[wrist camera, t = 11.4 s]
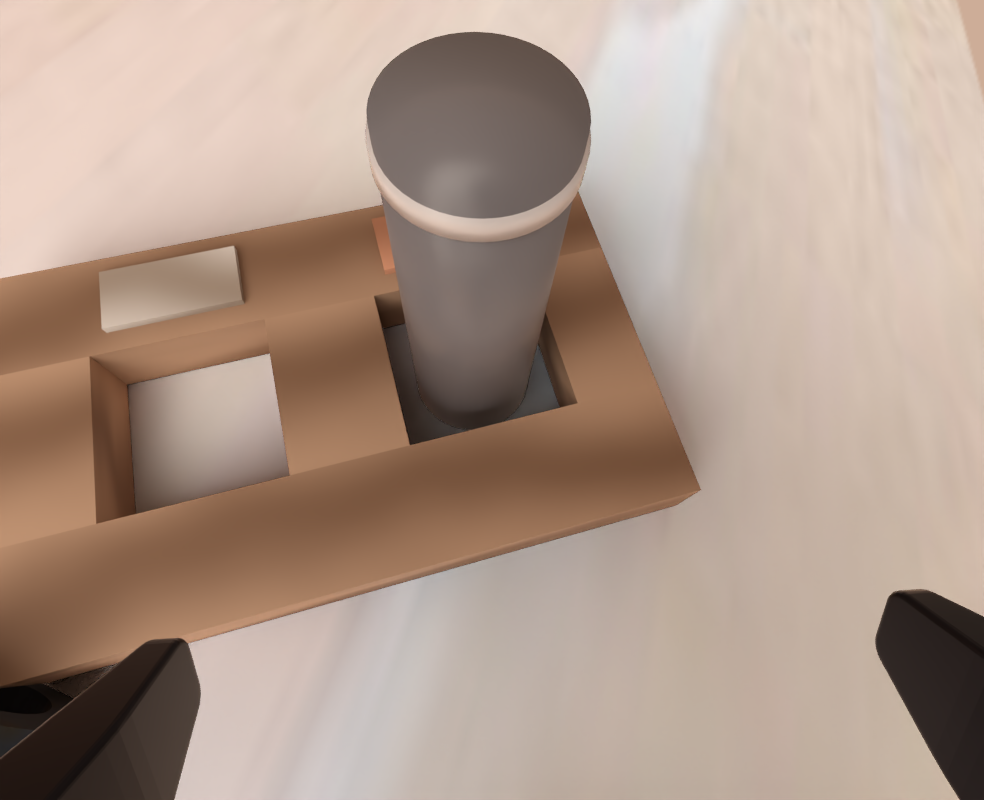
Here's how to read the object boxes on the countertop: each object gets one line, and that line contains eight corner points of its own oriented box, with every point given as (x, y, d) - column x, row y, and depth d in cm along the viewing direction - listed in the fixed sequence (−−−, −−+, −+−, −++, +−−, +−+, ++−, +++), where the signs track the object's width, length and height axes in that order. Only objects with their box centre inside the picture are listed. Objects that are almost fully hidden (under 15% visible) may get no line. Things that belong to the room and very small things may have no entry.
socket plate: (675, 505, 22) (703, 487, 20) (47, 682, 19) (-19, 689, 17) (560, 209, 27) (570, 163, 24) (43, 313, 24) (-8, 274, 21)
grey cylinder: (552, 394, 24) (642, 143, 12) (452, 454, 23) (438, 244, 10) (490, 308, 25) (513, 1, 13) (393, 360, 24) (320, 78, 12)
